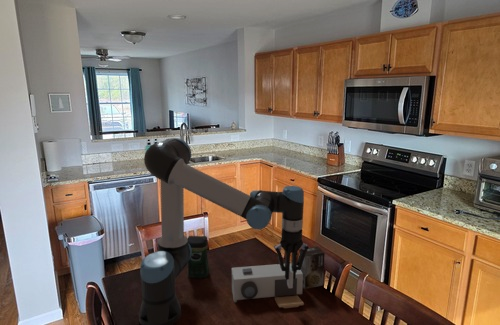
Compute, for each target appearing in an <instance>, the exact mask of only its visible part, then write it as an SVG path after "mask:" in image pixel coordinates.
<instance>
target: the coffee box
mask: <svg viewBox="0 0 500 325" xmlns="http://www.w3.org/2000/svg"><path fill="white" fill-rule="evenodd" d="M300 250H301V248H300V249H299V250H298V251H299V252H298V254H300ZM301 271H302V273H303V286H302V288H303V289H305V290H306V289H311V288H317V287H321V286H324V285H325V284H324V280H325V278H324V277H325V252H324V251H323V250H322V249H321V247H319V246H318V245H317V246H312V247H309V248H308V250H307V251H306V253H305V257H304V260H303V263H302V267H301Z"/></svg>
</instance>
